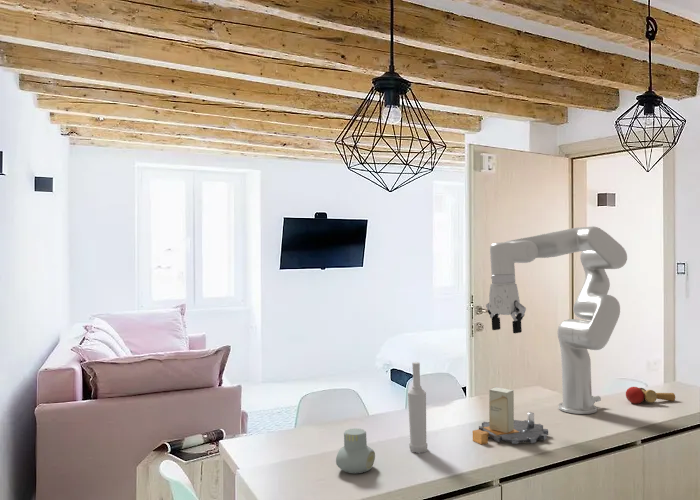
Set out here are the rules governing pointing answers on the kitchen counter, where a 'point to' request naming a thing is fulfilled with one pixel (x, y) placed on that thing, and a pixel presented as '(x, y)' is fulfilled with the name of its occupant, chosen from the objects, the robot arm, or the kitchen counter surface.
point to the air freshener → (355, 452)
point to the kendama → (646, 395)
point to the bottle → (417, 413)
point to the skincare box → (501, 409)
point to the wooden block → (480, 437)
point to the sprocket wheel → (518, 431)
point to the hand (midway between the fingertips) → (506, 331)
